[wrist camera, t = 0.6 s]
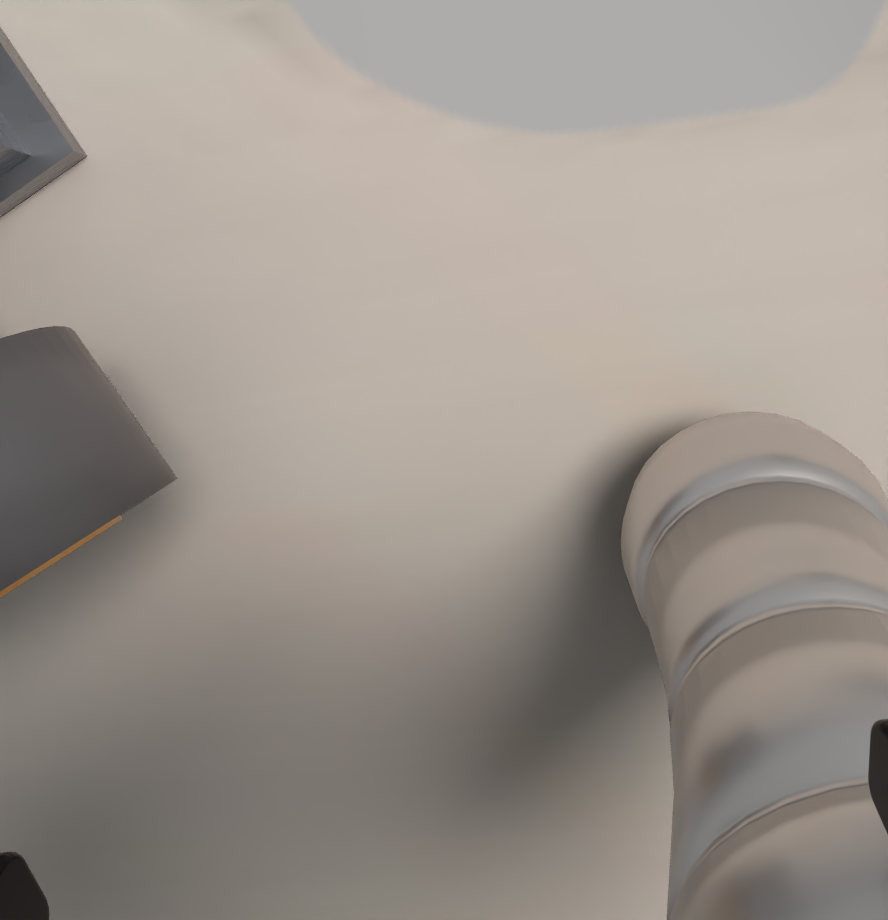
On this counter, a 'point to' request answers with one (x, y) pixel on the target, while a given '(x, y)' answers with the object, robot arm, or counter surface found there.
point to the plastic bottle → (766, 665)
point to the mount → (28, 133)
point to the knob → (63, 452)
